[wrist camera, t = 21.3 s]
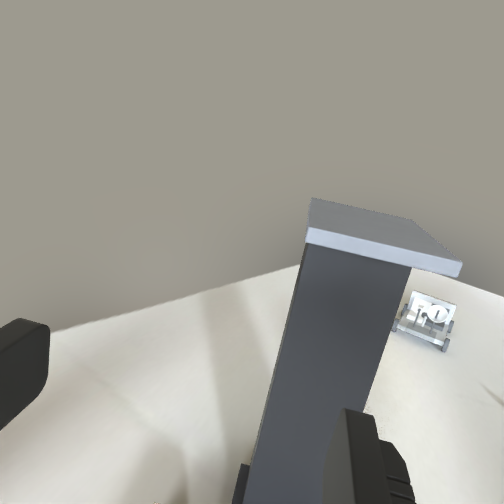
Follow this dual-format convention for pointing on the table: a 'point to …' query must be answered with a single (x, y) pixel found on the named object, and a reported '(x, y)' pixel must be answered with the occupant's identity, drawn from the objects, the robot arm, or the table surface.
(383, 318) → the dark grey pillar
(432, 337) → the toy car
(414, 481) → the table surface
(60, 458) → the table surface
